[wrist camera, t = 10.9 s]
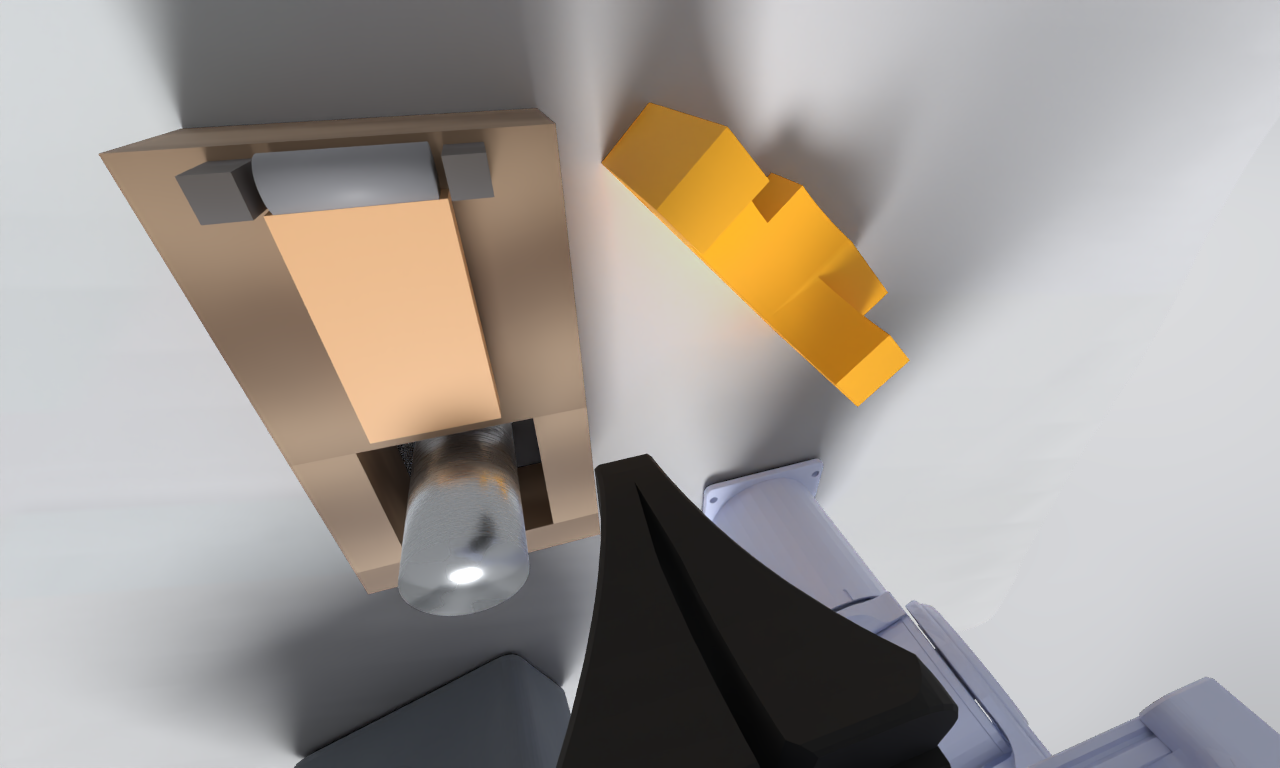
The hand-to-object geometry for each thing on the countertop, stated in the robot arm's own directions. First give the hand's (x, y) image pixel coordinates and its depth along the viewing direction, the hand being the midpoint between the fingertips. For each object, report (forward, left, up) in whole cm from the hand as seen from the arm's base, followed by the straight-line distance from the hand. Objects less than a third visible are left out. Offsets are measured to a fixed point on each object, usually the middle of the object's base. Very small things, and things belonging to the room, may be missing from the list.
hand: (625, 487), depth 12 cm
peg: (-5, +5, -10) cm, 12 cm away
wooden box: (-1, +5, -10) cm, 11 cm away
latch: (+3, +5, -6) cm, 8 cm away
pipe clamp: (+3, -8, -11) cm, 14 cm away
